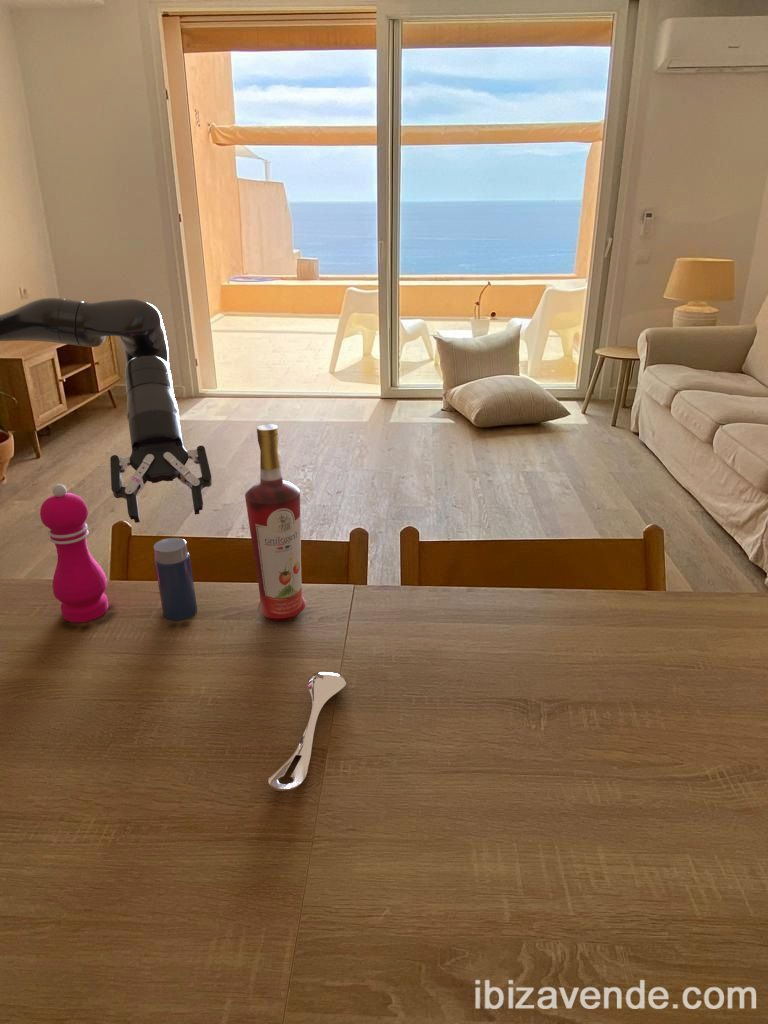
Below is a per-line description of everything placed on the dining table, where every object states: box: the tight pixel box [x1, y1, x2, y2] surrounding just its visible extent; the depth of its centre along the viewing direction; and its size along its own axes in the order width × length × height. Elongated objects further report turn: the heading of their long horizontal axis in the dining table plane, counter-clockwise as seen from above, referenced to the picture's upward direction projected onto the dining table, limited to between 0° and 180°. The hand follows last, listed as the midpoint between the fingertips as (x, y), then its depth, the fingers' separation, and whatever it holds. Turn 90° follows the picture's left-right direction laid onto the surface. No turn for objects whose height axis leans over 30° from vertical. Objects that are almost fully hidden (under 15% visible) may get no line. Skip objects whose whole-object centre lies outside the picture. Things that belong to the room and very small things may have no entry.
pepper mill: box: [39, 483, 109, 623], centre depth 98 cm, size 7×7×20 cm
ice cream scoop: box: [267, 670, 349, 792], centre depth 77 cm, size 20×4×5 cm
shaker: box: [153, 537, 198, 622], centre depth 99 cm, size 5×5×11 cm
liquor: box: [244, 423, 307, 623], centre depth 95 cm, size 7×7×28 cm
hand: (167, 516), depth 102 cm, fingers open, 8 cm apart
